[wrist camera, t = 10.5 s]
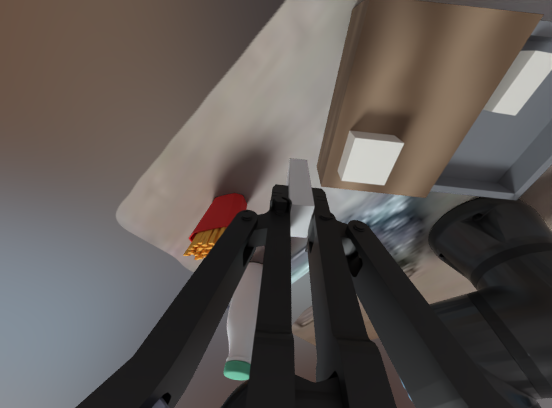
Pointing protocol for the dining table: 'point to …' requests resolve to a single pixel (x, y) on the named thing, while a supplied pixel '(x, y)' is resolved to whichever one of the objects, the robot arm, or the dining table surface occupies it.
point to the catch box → (506, 142)
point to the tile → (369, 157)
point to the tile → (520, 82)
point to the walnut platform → (417, 83)
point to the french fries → (214, 223)
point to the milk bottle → (243, 323)
